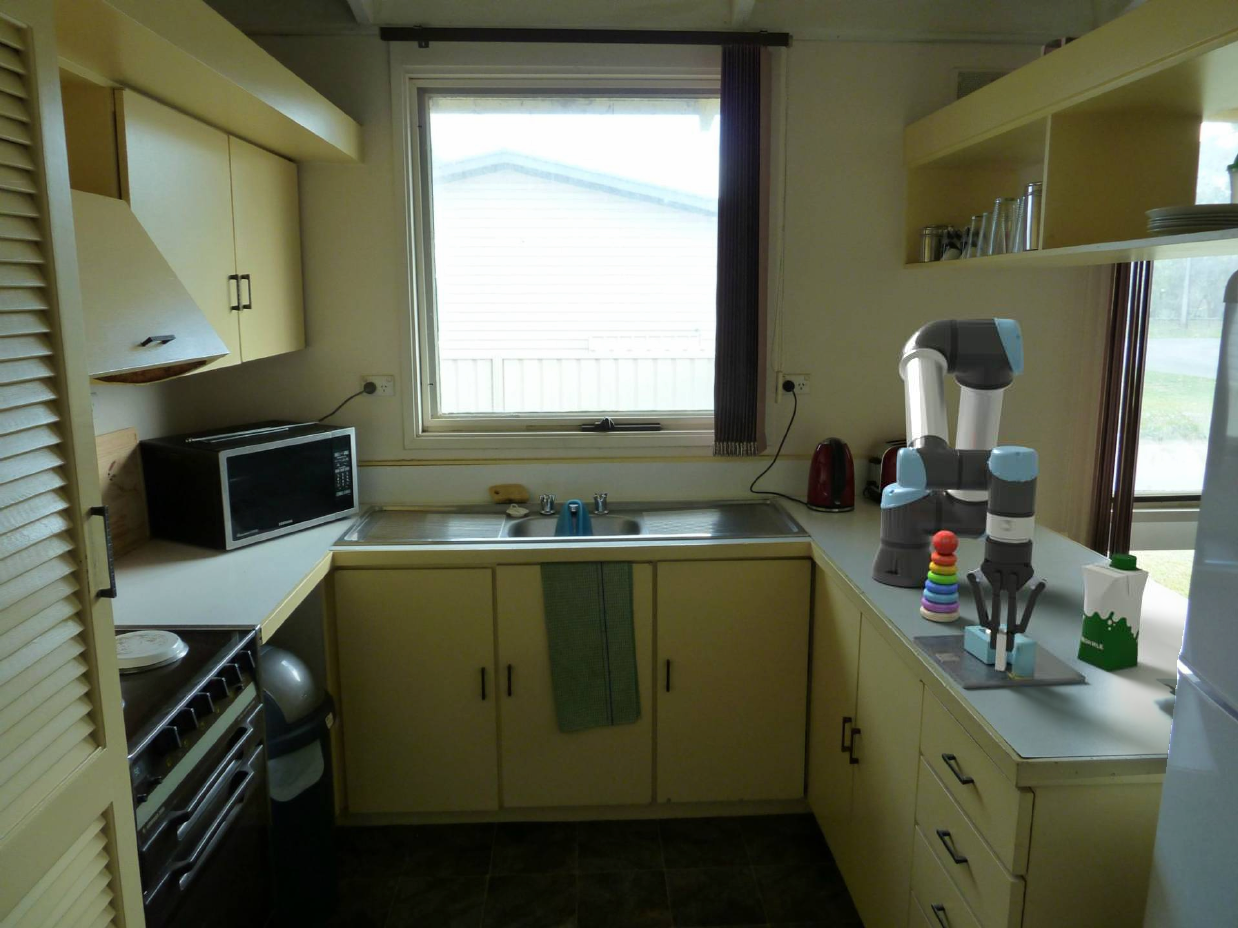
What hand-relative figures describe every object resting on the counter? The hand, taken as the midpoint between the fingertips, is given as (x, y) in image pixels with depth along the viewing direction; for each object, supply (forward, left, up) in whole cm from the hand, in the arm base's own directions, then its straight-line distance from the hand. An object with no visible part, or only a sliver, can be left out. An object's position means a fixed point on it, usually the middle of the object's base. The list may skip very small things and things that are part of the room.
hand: (1000, 667), depth 161 cm
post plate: (-9, +3, -3) cm, 10 cm away
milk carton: (-6, +23, -3) cm, 24 cm away
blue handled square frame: (-5, +4, -1) cm, 7 cm away
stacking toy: (-33, +3, -3) cm, 33 cm away
